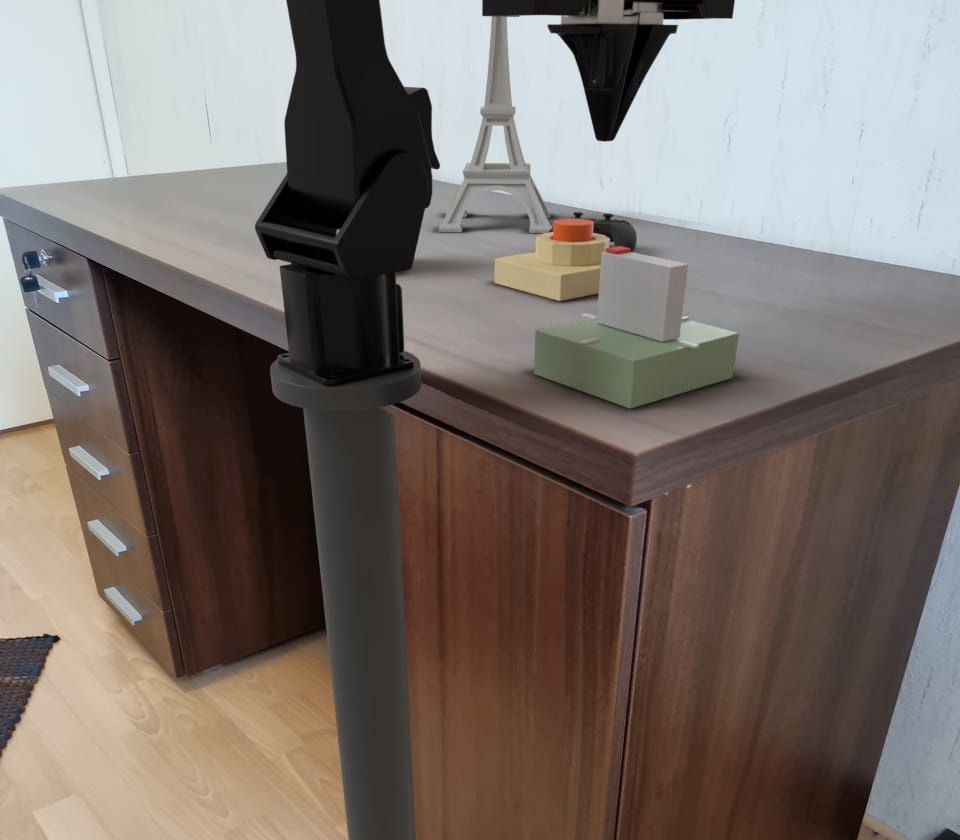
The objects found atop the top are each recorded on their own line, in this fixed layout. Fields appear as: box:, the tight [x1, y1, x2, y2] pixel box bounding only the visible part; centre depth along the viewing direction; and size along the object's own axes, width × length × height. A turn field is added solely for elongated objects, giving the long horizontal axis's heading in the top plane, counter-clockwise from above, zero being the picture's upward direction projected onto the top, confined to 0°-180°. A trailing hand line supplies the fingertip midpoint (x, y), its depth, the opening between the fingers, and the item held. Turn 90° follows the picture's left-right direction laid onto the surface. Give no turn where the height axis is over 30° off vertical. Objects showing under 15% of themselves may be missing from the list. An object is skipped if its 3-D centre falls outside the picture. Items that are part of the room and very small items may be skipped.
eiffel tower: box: [438, 16, 553, 234], centre depth 105 cm, size 13×13×30 cm
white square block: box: [596, 246, 689, 342], centre depth 59 cm, size 6×2×5 cm, turn 38°
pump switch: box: [494, 232, 611, 302], centre depth 85 cm, size 11×9×4 cm
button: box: [552, 218, 594, 242], centre depth 83 cm, size 4×4×2 cm
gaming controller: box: [548, 211, 638, 252], centre depth 99 cm, size 10×5×6 cm
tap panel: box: [533, 312, 740, 410], centre depth 62 cm, size 10×10×3 cm
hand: (604, 140), depth 66 cm, fingers closed
